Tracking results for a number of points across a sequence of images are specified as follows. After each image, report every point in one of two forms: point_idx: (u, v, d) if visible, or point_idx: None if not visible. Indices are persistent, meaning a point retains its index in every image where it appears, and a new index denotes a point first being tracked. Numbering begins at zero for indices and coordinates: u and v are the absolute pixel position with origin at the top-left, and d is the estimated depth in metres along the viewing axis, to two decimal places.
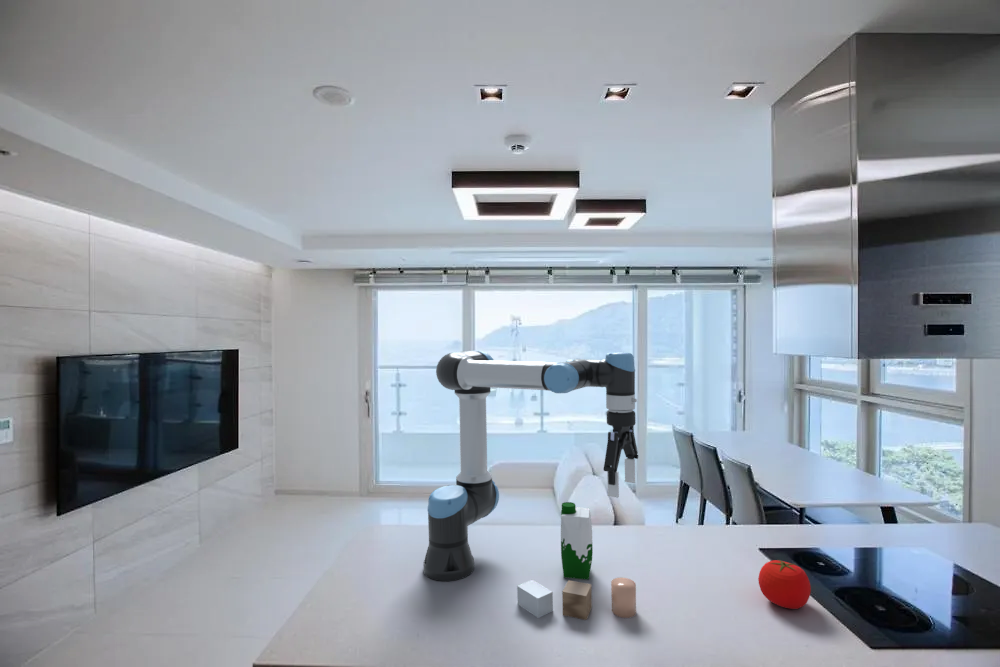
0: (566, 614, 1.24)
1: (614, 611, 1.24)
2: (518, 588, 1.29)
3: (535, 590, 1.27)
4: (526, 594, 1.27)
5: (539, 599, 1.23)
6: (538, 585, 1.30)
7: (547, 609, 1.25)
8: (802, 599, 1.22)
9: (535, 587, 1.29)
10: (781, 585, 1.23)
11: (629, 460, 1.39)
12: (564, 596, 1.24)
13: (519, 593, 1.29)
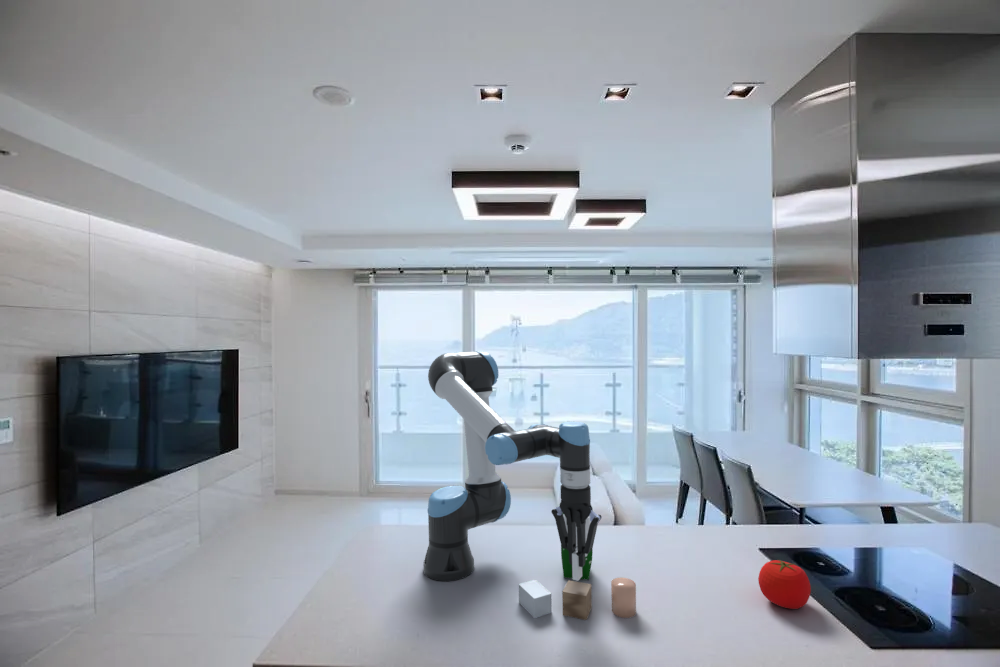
0: (566, 614, 1.24)
1: (614, 611, 1.24)
2: (519, 586, 1.30)
3: (534, 590, 1.27)
4: (525, 593, 1.27)
5: (535, 600, 1.23)
6: (539, 585, 1.29)
7: (544, 610, 1.25)
8: (802, 599, 1.22)
9: (535, 587, 1.28)
10: (781, 585, 1.23)
11: None
12: (564, 596, 1.24)
13: (520, 592, 1.30)
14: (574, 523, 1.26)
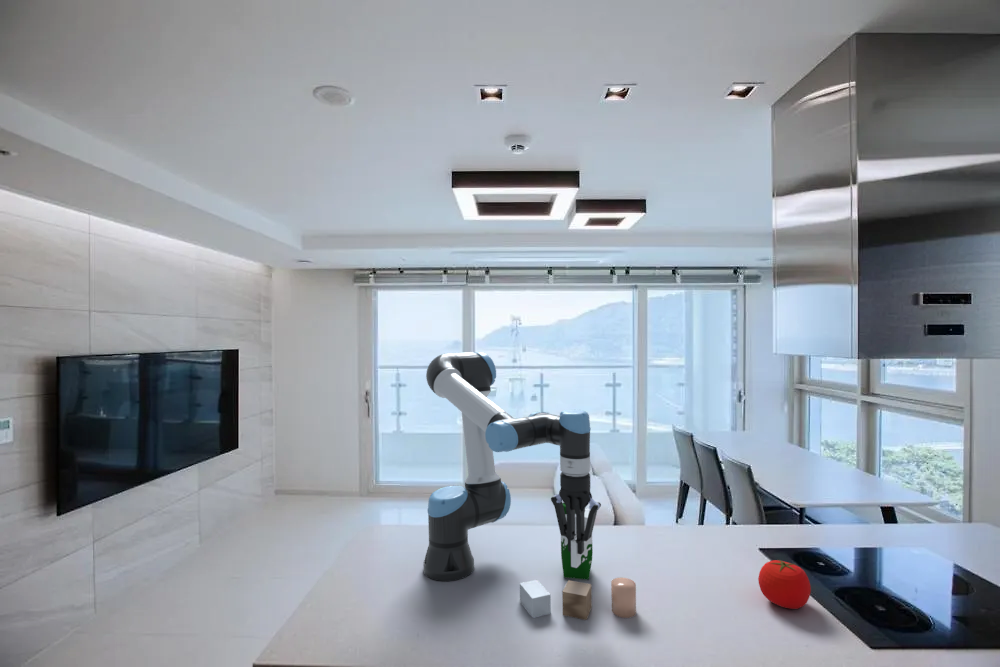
0: (566, 614, 1.24)
1: (614, 611, 1.24)
2: (520, 586, 1.30)
3: (534, 590, 1.27)
4: (525, 592, 1.27)
5: (533, 600, 1.23)
6: (540, 585, 1.29)
7: (543, 611, 1.24)
8: (802, 599, 1.22)
9: (536, 587, 1.28)
10: (781, 585, 1.23)
11: None
12: (564, 596, 1.24)
13: (520, 591, 1.30)
14: (573, 511, 1.26)
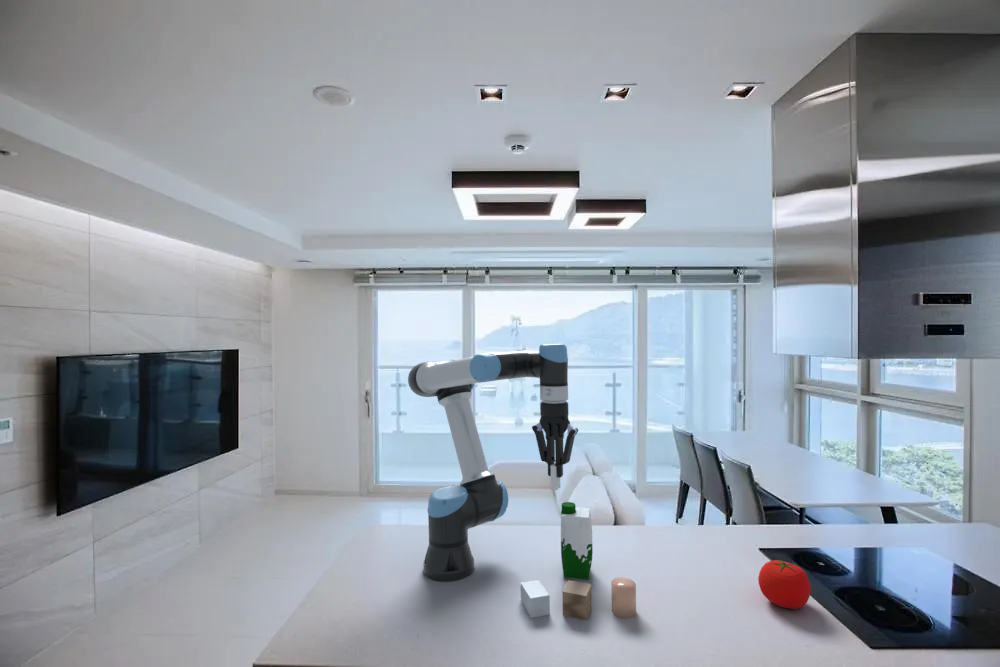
0: (566, 614, 1.24)
1: (614, 611, 1.24)
2: (521, 585, 1.31)
3: (534, 590, 1.27)
4: (525, 592, 1.27)
5: (532, 599, 1.24)
6: (540, 586, 1.29)
7: (542, 611, 1.24)
8: (802, 599, 1.22)
9: (536, 587, 1.28)
10: (781, 585, 1.23)
11: None
12: (564, 596, 1.24)
13: (521, 591, 1.30)
14: (553, 438, 1.35)
